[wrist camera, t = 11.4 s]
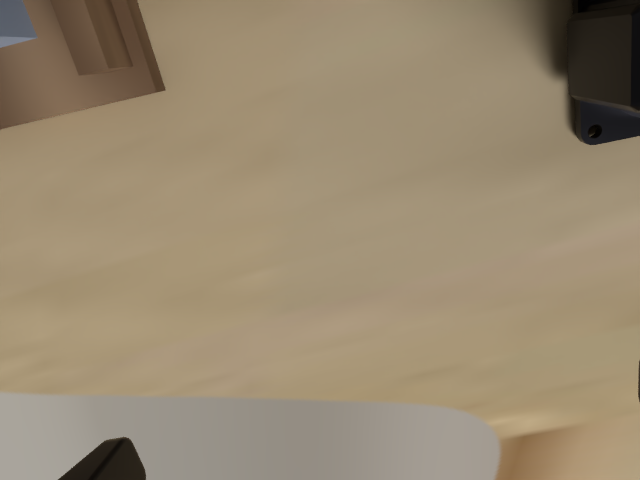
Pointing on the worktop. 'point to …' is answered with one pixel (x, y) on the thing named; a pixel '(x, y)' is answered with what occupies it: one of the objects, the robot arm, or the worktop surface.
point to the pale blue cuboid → (15, 23)
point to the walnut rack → (76, 60)
